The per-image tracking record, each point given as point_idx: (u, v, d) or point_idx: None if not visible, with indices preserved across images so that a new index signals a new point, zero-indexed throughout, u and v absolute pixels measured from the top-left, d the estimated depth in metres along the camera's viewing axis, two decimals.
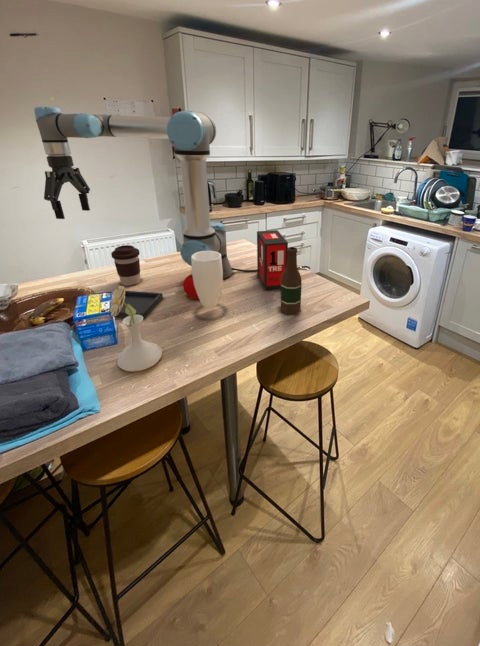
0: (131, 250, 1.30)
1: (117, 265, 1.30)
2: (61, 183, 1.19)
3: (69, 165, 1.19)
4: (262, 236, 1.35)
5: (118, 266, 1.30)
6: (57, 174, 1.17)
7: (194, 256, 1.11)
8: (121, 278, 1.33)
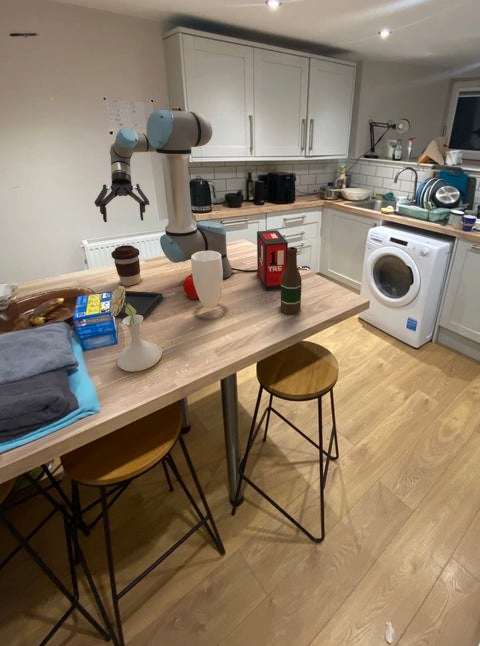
0: (131, 250, 1.30)
1: (117, 265, 1.30)
2: (111, 193, 1.38)
3: (118, 177, 1.39)
4: (262, 236, 1.35)
5: (118, 266, 1.30)
6: (111, 187, 1.40)
7: (194, 256, 1.11)
8: (121, 278, 1.33)
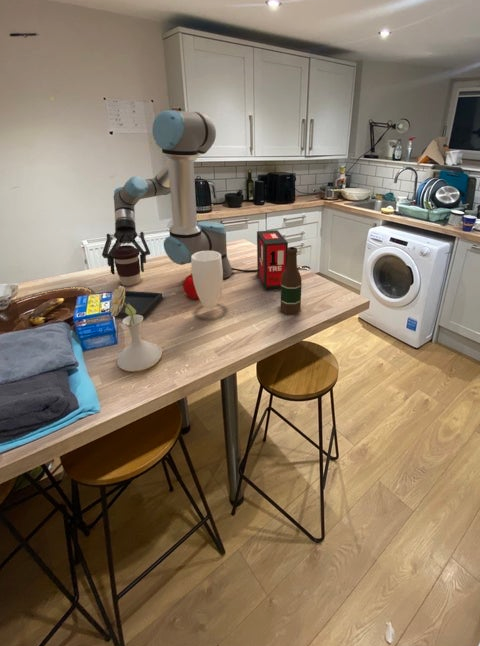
0: (131, 250, 1.30)
1: (117, 265, 1.30)
2: (116, 242, 1.34)
3: (122, 225, 1.35)
4: (262, 236, 1.35)
5: (118, 266, 1.30)
6: (114, 235, 1.36)
7: (194, 256, 1.11)
8: (121, 278, 1.33)
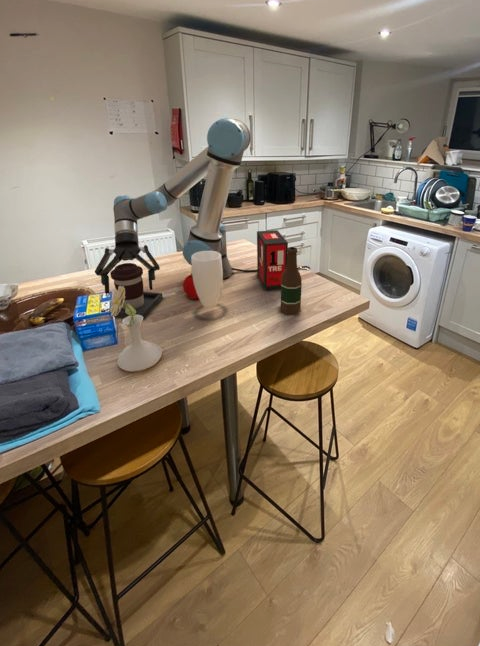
0: (133, 269, 1.12)
1: (117, 287, 1.12)
2: (115, 258, 1.16)
3: (122, 239, 1.17)
4: (262, 236, 1.35)
5: None
6: (114, 251, 1.17)
7: (194, 256, 1.11)
8: None
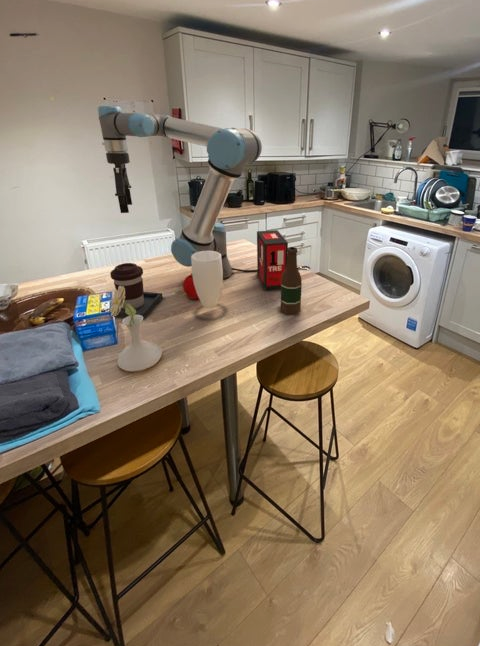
0: (133, 269, 1.12)
1: (117, 287, 1.12)
2: (124, 179, 1.25)
3: (129, 161, 1.26)
4: (262, 236, 1.35)
5: None
6: None
7: (194, 256, 1.11)
8: None
